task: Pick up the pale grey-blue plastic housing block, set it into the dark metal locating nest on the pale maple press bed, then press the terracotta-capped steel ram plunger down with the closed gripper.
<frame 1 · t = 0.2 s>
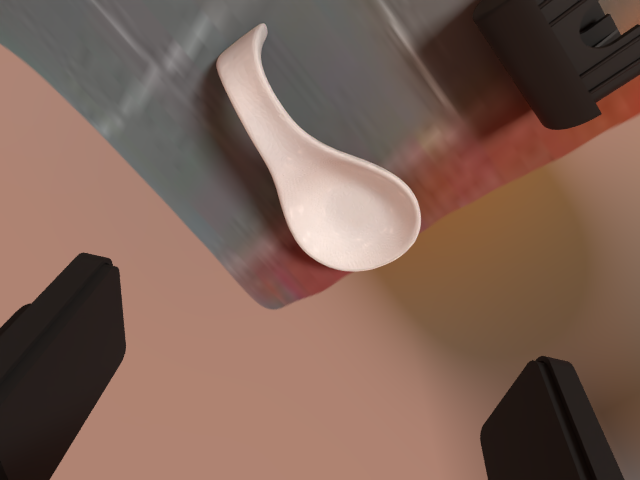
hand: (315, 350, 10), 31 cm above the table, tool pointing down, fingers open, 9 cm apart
end cap: (541, 29, 33), on the table
spoon rest: (322, 153, 41), on the table
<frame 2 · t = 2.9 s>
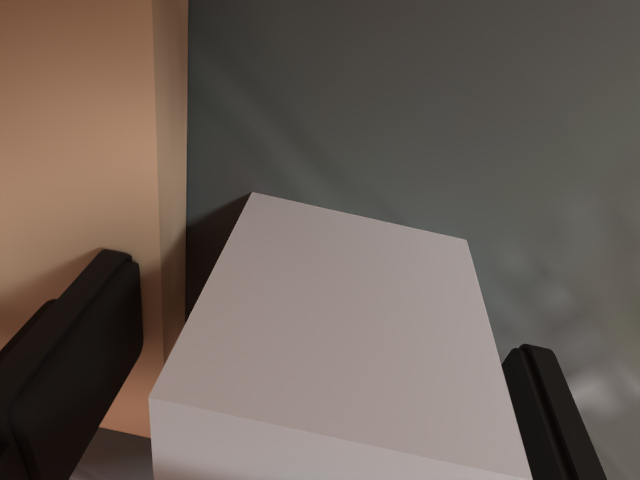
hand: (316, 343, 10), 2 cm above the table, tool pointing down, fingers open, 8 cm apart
housing: (337, 294, 12), on the table
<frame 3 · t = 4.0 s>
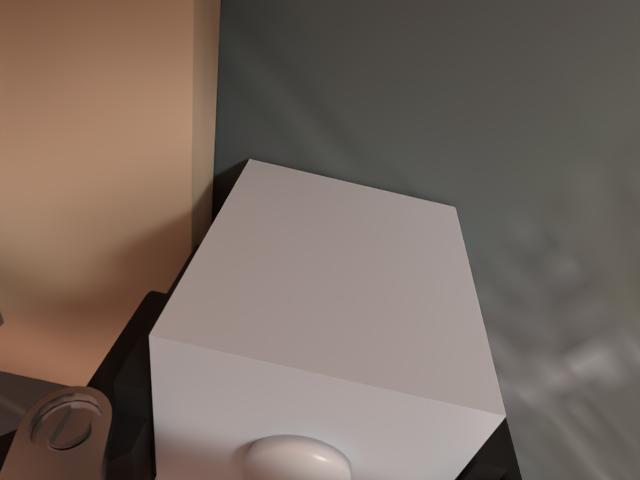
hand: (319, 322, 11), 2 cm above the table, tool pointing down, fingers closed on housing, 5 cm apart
housing: (330, 262, 12), on the table, touching gripper
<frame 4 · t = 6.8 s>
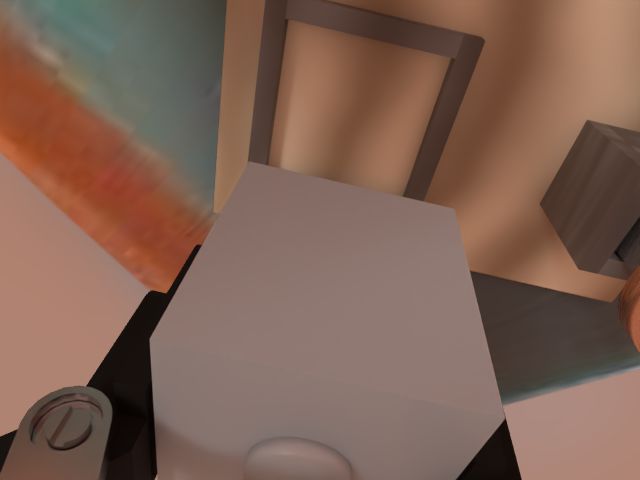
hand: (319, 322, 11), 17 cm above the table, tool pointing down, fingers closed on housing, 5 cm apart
press bed: (440, 126, 25), on the table
housing: (330, 264, 12), point 15 cm above the table, touching gripper
when the fingers open (3 cm above the table, at t = 9.5 s): housing stays where it is, resting on press bed.
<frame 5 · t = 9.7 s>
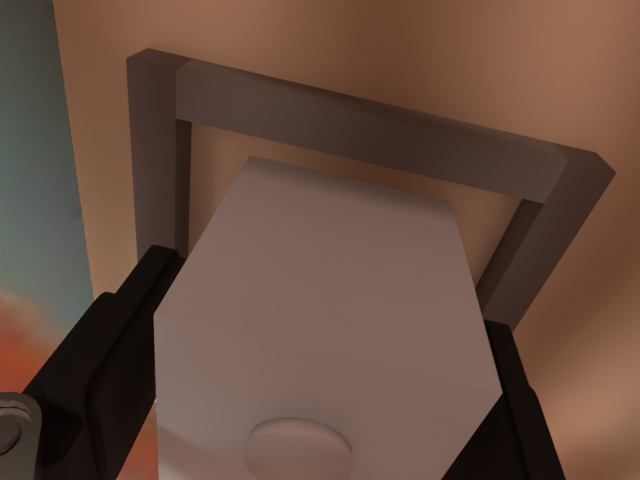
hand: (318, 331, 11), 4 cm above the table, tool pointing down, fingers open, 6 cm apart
press bed: (489, 279, 14), on the table
housing: (329, 258, 12), point 1 cm above the table, touching press bed
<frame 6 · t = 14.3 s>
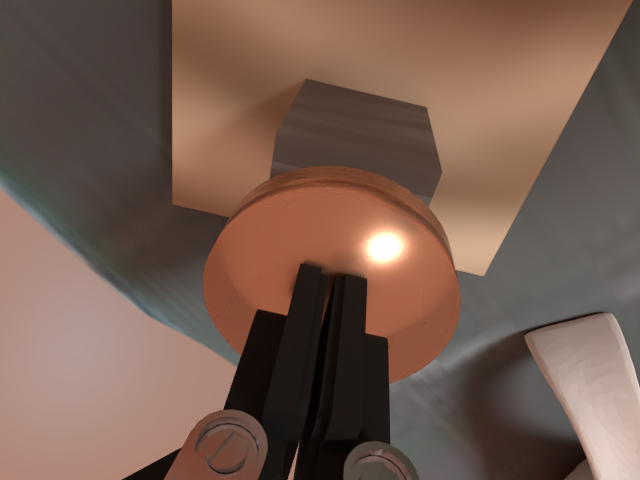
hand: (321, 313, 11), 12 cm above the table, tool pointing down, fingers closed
ram: (339, 231, 14), point 8 cm above the table, slide at 1.0 cm, touching gripper
spoon rest: (599, 428, 31), on the table
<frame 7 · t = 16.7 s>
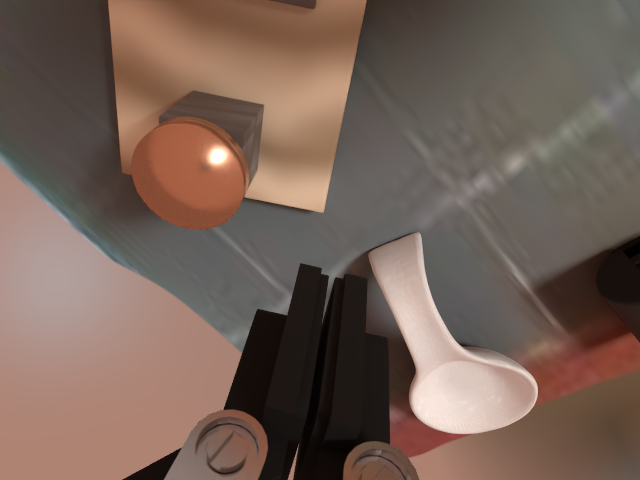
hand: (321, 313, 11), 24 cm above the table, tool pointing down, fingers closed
ram: (206, 157, 28), point 6 cm above the table, slide at 2.7 cm
spoon rest: (442, 329, 43), on the table
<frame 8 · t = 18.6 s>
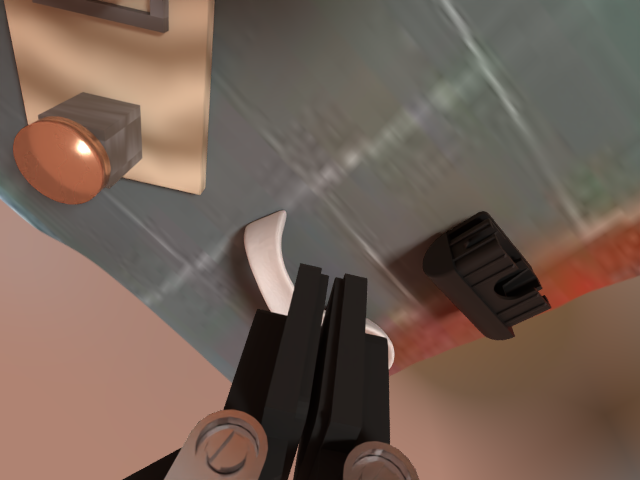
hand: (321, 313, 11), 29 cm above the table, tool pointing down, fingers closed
press bed: (114, 13, 35), on the table
end cap: (477, 256, 45), on the table
ram: (83, 147, 35), point 6 cm above the table, slide at 2.7 cm
spoon rest: (319, 295, 50), on the table
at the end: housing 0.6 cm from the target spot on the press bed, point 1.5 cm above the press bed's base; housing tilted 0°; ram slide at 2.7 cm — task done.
